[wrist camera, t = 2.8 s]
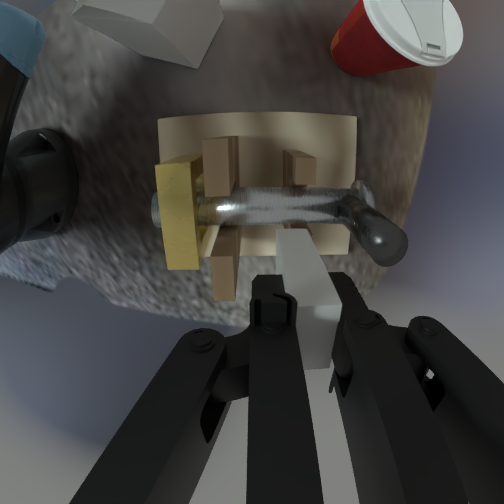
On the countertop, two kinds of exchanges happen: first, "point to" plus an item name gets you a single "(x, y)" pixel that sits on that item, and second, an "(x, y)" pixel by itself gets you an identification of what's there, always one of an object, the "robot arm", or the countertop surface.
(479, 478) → the robot arm
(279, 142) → the wooden stand with blocks
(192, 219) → the spacer
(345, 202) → the silver bent bar
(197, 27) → the milk carton
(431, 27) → the coffee cup
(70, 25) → the countertop surface
